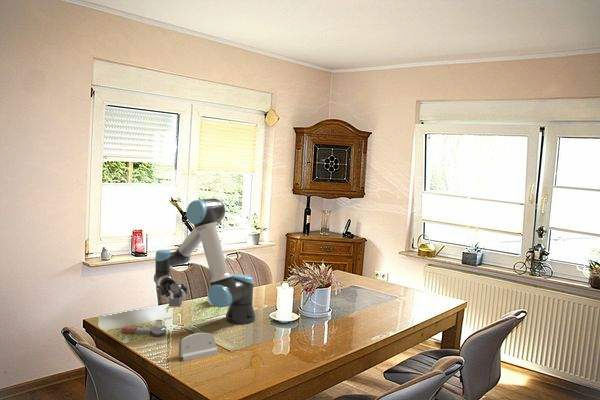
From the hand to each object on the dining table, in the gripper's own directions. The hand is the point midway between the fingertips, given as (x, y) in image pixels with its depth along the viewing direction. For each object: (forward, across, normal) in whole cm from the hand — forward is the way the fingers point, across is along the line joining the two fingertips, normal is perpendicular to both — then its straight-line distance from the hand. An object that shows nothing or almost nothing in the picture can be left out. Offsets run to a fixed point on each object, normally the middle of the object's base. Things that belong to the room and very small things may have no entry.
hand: (178, 295), depth 249 cm
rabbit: (-35, -30, -17) cm, 49 cm away
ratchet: (-1, +15, -17) cm, 23 cm away
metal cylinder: (-5, 0, -6) cm, 8 cm away
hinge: (+31, 0, -18) cm, 36 cm away
